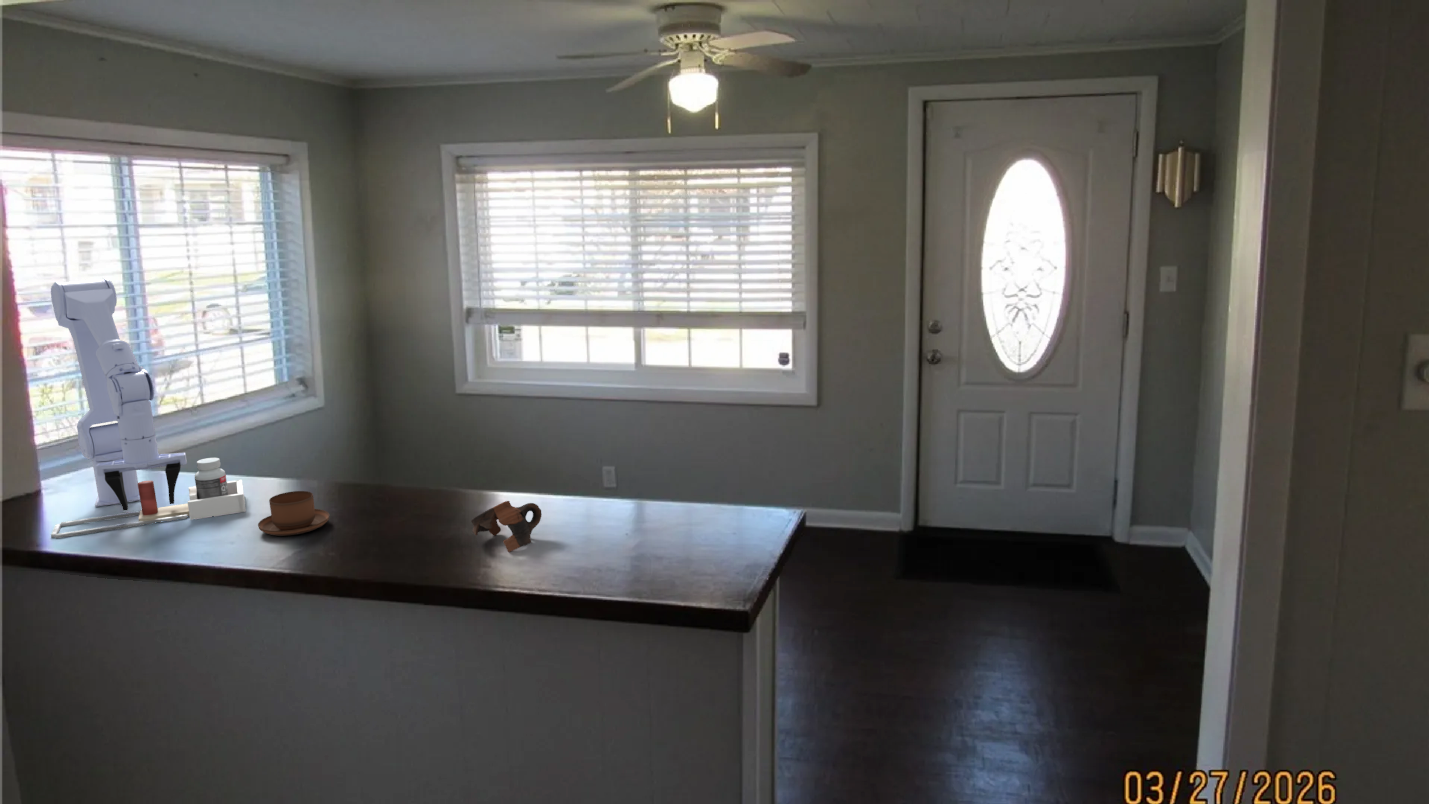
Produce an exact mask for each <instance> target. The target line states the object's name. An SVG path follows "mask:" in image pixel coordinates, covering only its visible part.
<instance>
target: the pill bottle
mask: <svg viewBox="0 0 1429 804" xmlns="http://www.w3.org/2000/svg"><path fill="white" fill-rule="evenodd" d="M220 467H221V459H220V458H219V457H207V458H202V459H199V460H197V461H196V468H197V470H198V471H197V472H196V473H195V474H194V482H195V486H196V490H197V497H198V499H205V498H211V497H218V496H225V495H228V488H227V482H228V481H227V474H226V471H225V470H224V469H223V468H220Z"/></svg>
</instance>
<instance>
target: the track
mask: <svg viewBox="0 0 1429 804" xmlns="http://www.w3.org/2000/svg"><path fill="white" fill-rule="evenodd" d="M139 514H140V510H136V511H130V512H129V511H128V512H122V513H117V514H116V513H115V514H110V515H102V516H96V517H88V518H87V517H86V518H82V519H75V520H68V521H61V522H60V523H56V524H55V525H54V527H53V529H52V531H51V534H50V538H52V539H54V538H55V539H62V538H68V537H74V536H75V537H76V536H82V535H87V534H95V533H100V532H107V531H115V530H121V529H126V528H134V527H140V526H139V525H141V526H144V525H143V524H147V525H153V524H152V523H154V524H156V523H155V522H160V523H162V522H161V521H167V522H171V521H172V520H173V521H178V520H177V519H180V520H185V519H188V517H189V516H188V517H187V514H184V515H178V516H171V517H165V518H158V519H151V520H145V521H139V520H138V521H133V522H126V523H120V524H114V525H113V524H112V525H107V526H101V527H100V526H99V527H93V528H86V529H80V530H79V529H78V530H74V531H73V530H72V531H67V532H60V530H61V528H63V527H67V526H74V525H82V524H89V523H94V522H101V521H108V520H116V519H121V518H128V517H134V516H139ZM59 532H60V533H59Z"/></svg>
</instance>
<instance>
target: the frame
mask: <svg viewBox="0 0 1429 804" xmlns="http://www.w3.org/2000/svg"><path fill="white" fill-rule="evenodd" d="M243 485H244V484H243V479H237V480H230V481H229V480H228V481H227V488H228V495H225V496H218V497H211V498H205V499H198V500H191V501H190V500H187V503H188V508H189V515H190V516H189V521H193V519H195V520H200V519H201V520H202V519H206V518H213V517H212V516H214V517H220V516H225V515H231V514H239V513H246V512H247V510H246V509H247V508H246V501H245V492H244V486H243ZM194 487H196V485H194V486H188V493H190V488H194Z"/></svg>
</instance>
